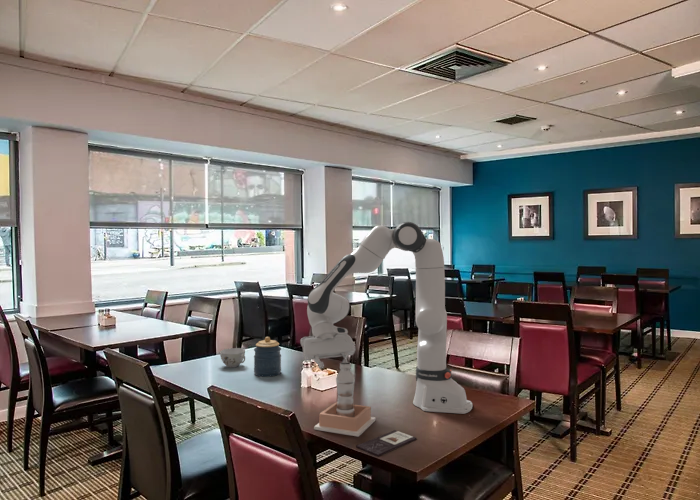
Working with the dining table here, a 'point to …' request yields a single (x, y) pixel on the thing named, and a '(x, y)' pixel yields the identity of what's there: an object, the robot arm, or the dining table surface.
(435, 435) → the dining table surface
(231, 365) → the teacup
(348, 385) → the plastic bottle
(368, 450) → the chocolate bar
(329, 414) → the open square box
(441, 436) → the dining table surface
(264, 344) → the canister
